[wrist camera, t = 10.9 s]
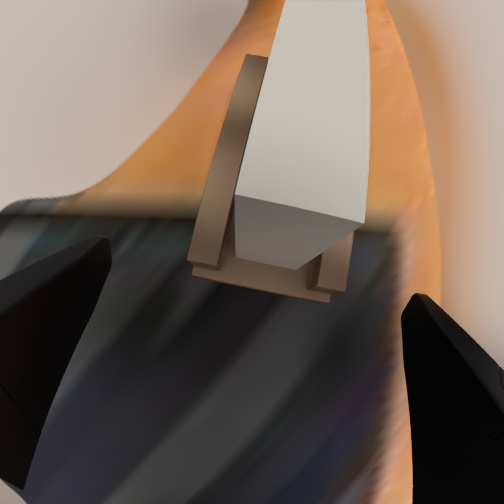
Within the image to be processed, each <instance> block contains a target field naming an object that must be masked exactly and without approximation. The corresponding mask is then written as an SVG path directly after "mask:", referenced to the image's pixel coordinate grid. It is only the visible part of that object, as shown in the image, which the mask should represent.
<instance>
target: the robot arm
mask: <svg viewBox="0 0 504 504" xmlns="http://www.w3.org/2000/svg"><path fill="white" fill-rule="evenodd" d="M111 265H112V258H111V250H110V242H109V239H108V238H107V237H105V236H100V235H94V236H91V237H89V238H87V239H85V240H82V241H80V242H78V243H76V244H73V245H71V246H69V247H67V248H65V249H63V250H60V251H58V252H56V253H54V254H52V255H50V256H48V257H46V258H43V259H41V260H39V261H37V262H35V263H33V264H31V265H29V266H27V267H25V268H23V269H21V270H19V271H17V272H15V273H13V274H11V275H9V276H7V277H5V278H4V279H2V280H0V478H1V479H2V480H4V481H6V482H8V483H10V484H11V485H13V486H15V487H17V488H19V489H21V490H23V489H24V486H25V483H26V479H27V476H28V472H29V469H30V466H31V462H32V459H33V456H34V453H35V450H36V447H37V444H38V441H39V438H40V435H41V432H42V431H41V430H42V429H43V426H44V423H45V420H46V418H47V415H48V412H49V410H50V407H51V405H52V402H53V399H54V397H55V394H56V392H57V390H58V387H59V385H60V382H61V380H62V378H63V375H64V373H65V371H66V368H67V366H68V364H69V362H70V359H71V357H72V355H73V353H74V351H75V348H76V346H77V344H78V342H79V340H80V338H81V336H82V334H83V331H84V329H85V327H86V325H87V323H88V321H89V319H90V317H91V315H92V313H93V311H94V309H95V306H96V304H97V301H98V299H99V296H100V293H101V291H102V288H103V286H104V283H105V281H106V278H107V276H108V273H109V271H110V269H111ZM401 328H402V343H403V361H404V370H405V378H406V386H407V394H408V404H409V414H410V426H411V441H412V464H413V502H412V504H504V370H503V369H502V368H501V367H499V365H498V364H497V363H496V362H495V361H494V360H493V359H492V358H491V357H490V356H489V355H488V354H487V353H486V351H485V350H484V349H483V348H482V347H481V346H480V345H479V344H478V343H477V342H476V341H475V340H474V339H473V338H472V337H471V336H470V335H469V334H467V332H466V331H465V330H464V329H462V327H460V326H459V325H458V324H457V323H456V322H455V321H454V320H453V319H452V318H451V317H450V316H449V315H448V314H447V313H446V312H445V311H444V310H443V309H442V308H441V307H440V306H438V305H437V304H436V303H435V302H434V301H433V300H432V299H431V298H430V297H429V296H427V295H426V294H420V293H415V294H414V295H413V296H412V297H411V299H410V300H409V302H408V304H407V306H406V307H405V309H404V311H403V312H402V315H401Z"/></svg>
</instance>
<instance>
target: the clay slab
mask: <svg viewBox="0 0 504 504" xmlns="http://www.w3.org/2000/svg"><path fill="white" fill-rule="evenodd" d="M369 148H370V64H369V44H368V29H367V17H366V7H365V0H286V1H285V4H284V8H283V11H282V15H281V18H280V22H279V25H278V29H277V32H276V36H275V39H274V43H273V46H272V50H271V54H270V57H269V61H268V65H267V68H266V72H265V76H264V79H263V83H262V87H261V91H260V94H259V98H258V102H257V106H256V110H255V114H254V117H253V121H252V125H251V129H250V133H249V137H248V141H247V145H246V149H245V153H244V157H243V161H242V165H241V169H240V174H239V178H238V182H237V186H236V190H235V250H236V258H241V259H245V260H250V261H255V262H260V263H265V264H270V265H274V266H279V267H284V268H289V269H294V270H297V269H298V268H300V267H301V266H303V265H304V264H306V263H307V262H309V261H310V260H312V259H313V258H315V257H316V256H318V255H319V254H321V253H322V252H324V251H325V250H327V249H328V248H329V247H331V246H332V245H334V244H335V243H337V242H338V241H340V240H341V239H343V238H344V237H346V236H347V235H348V234H350V233H351V232H353V231H354V230H356V229H357V228H359V227H360V226H361V225H363V224H364V221H365V210H366V198H367V185H368V169H369Z"/></svg>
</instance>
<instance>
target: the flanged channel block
mask: <svg viewBox="0 0 504 504" xmlns="http://www.w3.org/2000/svg"><path fill="white" fill-rule="evenodd" d="M267 64H268V57H262V56H256V55H250V54H246V56H245V59H244V61H243V64H242V67H241V70H240V73H239V76H238V79H237V82H236V85H235V88H234V91H233V94H232V98H231V101H230V104H229V107H228V110H227V113H226V117H225V120H224V123H223V126H222V130H221V133H220V136H219V140H218V143H217V147H216V150H215V153H214V157H213V160H212V164H211V168H210V171H209V175H208V178H207V182H206V186H205V189H204V193H203V197H202V201H201V204H200V208H199V212H198V216H197V220H196V224H195V228H194V232H193V236H192V240H191V244H190V248H189V252H188V257H187V260H188V261H189V262H190V263H191V264H192V265H193V266H194V267H193V272H192V275H193V276H194V277H197V278H201V279H206V280H210V281H215V282H220V283H224V284H229V285H234V286H238V287H243V288H248V289H253V290H258V291H263V292H268V293H273V294H278V295H283V296H288V297H293V298H299V299H304V300H309V301H314V302H320V303H329V302H330V296H331V294H336V293H341V292H345V290H346V284H347V277H348V271H349V264H350V257H351V249H352V241H353V233H354V231H353V232H351V233H350V234H348V235H347V236H346V237H344V238H343V239H341V240H340V241H338V242H337V243H335V244H334V245H332V246H331V247H329V248H328V249H327V250H325V251H324V252H322V253H321V254H319V255H318V256H316V257H315V258H313V259H312V260H310V261H309V262H307V263H306V264H304V265H303V266H301V267H300V268H298V269H297V270H294V269H289V268H284V267H279V266H274V265H270V264H265V263H260V262H255V261H250V260H245V259H241V258H236V250H235V190H236V186H237V182H238V178H239V174H240V169H241V165H242V161H243V157H244V153H245V149H246V145H247V141H248V137H249V133H250V129H251V125H252V121H253V117H254V114H255V110H256V106H257V102H258V98H259V94H260V91H261V87H262V83H263V79H264V76H265V72H266V68H267Z"/></svg>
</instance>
